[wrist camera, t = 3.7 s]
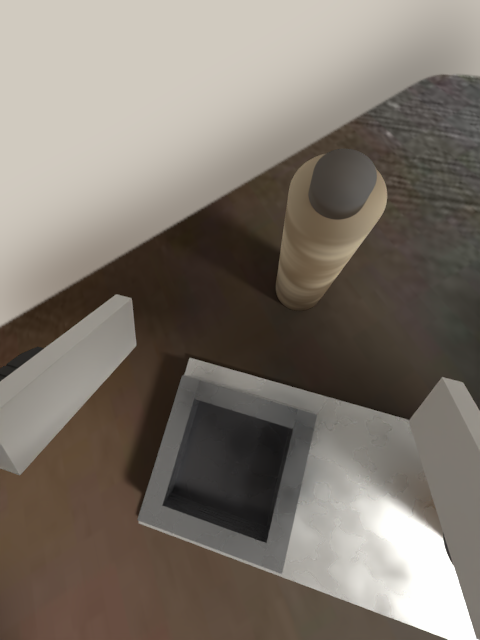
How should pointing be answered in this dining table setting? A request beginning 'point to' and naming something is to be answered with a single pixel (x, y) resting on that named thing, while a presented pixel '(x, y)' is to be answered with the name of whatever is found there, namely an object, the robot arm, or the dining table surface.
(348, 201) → the birch leg peg
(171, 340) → the dining table surface
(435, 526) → the bolt plate
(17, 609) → the dining table surface
